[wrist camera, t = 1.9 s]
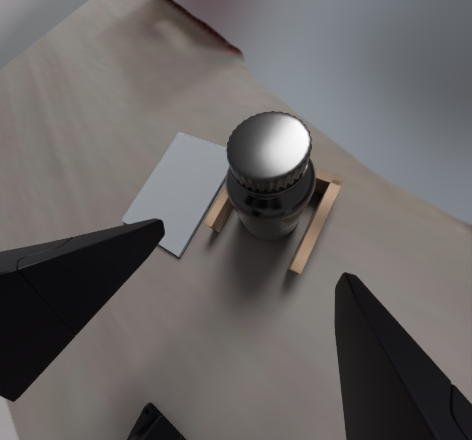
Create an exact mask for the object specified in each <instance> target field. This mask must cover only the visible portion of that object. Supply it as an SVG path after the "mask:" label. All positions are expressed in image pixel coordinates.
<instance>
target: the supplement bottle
mask: <svg viewBox="0 0 472 440" xmlns="http://www.w3.org/2000/svg"><path fill="white" fill-rule="evenodd" d="M311 141H312V138H311V137H310V131H309V130H308V129H307V127H306V125H305V124H303V123H302V121H301V120H299V119H297V118H296V117H295V116H292V115H290V114H289V113H283V112H274V111H272V112H264V113H261V114H256V115H255V116H251V117H249V118H248V119H247V120H244V121H243V122H242V123H241V124H239V125H238V126H237V128H236V129H235V130H233V132H232V135H231V136H230V137H229V141H228V143H227V149H226V152H227V160H228V163H229V167H228V170H227V173H226V180H225V186H226V192H227V195H228V198H229V200H230V202H231V204H232V205H233V207H234V209H235V210H236V212H237V214H238V215H239V217H240V219H241V220H242V222H243V224H244V225H245V227H246V228H247V229H248V230H249V232H251V233H252V234H253V235H255V236H257V237H259V238H262V239H266V240H274V239H279V238H282V237H284V236H286V235H288V234H289V233H290V232H291V231H292V230H293V229H294V228H295V227H296V225H297V223H298V222H299V220H300V218H301V216H302V214H303V212H304V210H305V208H306V206H307V204H308V203H309V201H310V199H311V197H312V194H313V192H314V189H315V184H316V172H315V168H314V165H313V162H312V160H311V159H310V152H311V149H312V145H311Z"/></svg>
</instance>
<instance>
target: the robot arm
mask: <svg viewBox="0 0 472 440" xmlns="http://www.w3.org/2000/svg"><path fill="white" fill-rule="evenodd" d="M164 235H165V228H164V223H163V221H162V220H161V219H157V218H153V219H149V220H144V221H140V222H136V223H131V224H127V225H123V226H118V227H114V228H110V229H105V230H101V231H97V232H92V233H88V234H84V235H79V236H75V237H70V238H66V239H62V240H57V241H53V242H48V243H43V244H38V245H33V246H28V247H23V248H18V249H12V250H7V251H2V252H0V396H2V397H4V398H6V399H8V400H10V401H12V402H14V401H16V400H17V399H18V398H19V397H20V396H21V395H22V394H23V393H24V392H25V391H26V390H27V388H28V387H29V386H30V385H31V384H32V383H33V382H34V381H35V380H36V379H37V378H38V376H39V375H40V374H41V373H42V372H43V371H44V370H45V369H46V368H47V367H48V366H49V365H50V363H51V362H52V361H53V360H54V359H55V358H56V357H57V356H58V355H59V354H60V353H61V352H62V350H63V349H64V348H65V347H66V346H67V345H68V344H69V343H70V342H71V341H72V340H73V338H74V337H75V335H77V334H78V333H79V332H80V331H81V330H82V328H83V327H84V326H85V325H86V324H87V323H88V322H89V321H90V320H91V319H92V318H93V317H94V315H95V314H96V313H97V312H98V311H99V310H100V309H101V308H102V307H103V306H104V305H105V304H106V302H107V301H108V300H109V299H110V298H111V297H112V296H113V295H114V294H115V293H116V292H117V290H118V289H119V288H120V287H121V286H122V285H123V284H124V283H125V282H126V281H127V280H128V279H129V277H130V276H131V275H132V274H133V273H134V272H135V271H136V270H137V269H138V268H139V267H140V266H141V264H142V263H143V262H144V261H145V260H146V259H147V258H148V257H149V255H150V254H151V253H152V251H153V250H154V249H155V248H156V246H157V245H158V244H159V242H160V241H161V240H162V238H163V237H164ZM335 336H336V346H337V355H338V364H339V374H340V383H341V393H342V402H343V411H344V421H345V430H346V439H347V440H472V404H471V403H470V402H469V401H468V400H467V398H466V397H465V396H464V395H463V394H462V393H461V392H460V391H459V390H458V388H457V387H456V386H455V385H453V384H451V381H450V380H449V378H448V377H447V376H446V375H445V374H444V373H443V372H442V371H441V370H440V368H439V367H438V366H437V365H436V364H435V363H434V362H433V361H432V359H431V358H430V357H429V356H428V355H427V354H426V353H425V352H424V351H423V349H422V348H421V347H420V346H419V345H418V344H417V343H416V342H415V340H414V339H413V338H412V337H411V336H410V335H409V334H408V333H407V332H406V330H405V329H404V328H403V327H402V326H401V325H400V324H399V323H398V321H397V320H396V319H395V318H394V317H393V316H392V315H391V314H390V313H389V311H388V310H387V309H386V308H385V307H384V306H383V305H382V304H381V302H380V301H379V300H378V299H377V298H376V297H375V296H374V295H373V294H372V292H371V291H370V290H369V289H368V288H367V287H366V286H365V285H364V284H363V282H362V281H361V280H360V279H359V278H358V277H357V276H356V275H354V274H350V273H347V272H344V273H343V274H342V276H341V277H340V279H339V281H338V283H337V285H336V288H335ZM148 409H149V412H148ZM127 440H186V439H185V438H184V437H183V436H182V435H181V434H180V433H179V432H178V431H177V429H176V428H175V427H174V426H173V425H172V424H171V423H170V422H169V421H168V420H167V419H166V418H165V417H164V416H163V415H162V414H161V412H160V411H159V410H158V409H157V408H156V407H155V406H154V405H153V404H152V403H148V404H147V405H146V406H145V407H144V409H143V410H142V412H141V414H140V416H139V418H138V420H137V422H136V424H135V425H134V427H133V429H132V431H131V433H130V435H129V437H128V438H127Z"/></svg>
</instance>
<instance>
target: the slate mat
mask: <svg viewBox="0 0 472 440" xmlns="http://www.w3.org/2000/svg"><path fill="white" fill-rule="evenodd" d="M226 149H227V148H226V147H223V146H220V145H217V144H214V143H211V142H208V141H205V140H202V139H199V138H196V137H193V136H190V135H187V134H184V133H181V132H179V133H178V134H177V136H176V137H175V139H174V141H173V142H172V144H171V145H170V147H169V148H168V150H167V151H166V153H165V154H164V156H163V157H162V159H161V160H160V162H159V163H158V165H157V166H156V168H155V169H154V171H153V173H152V174H151V176H150V177H149V179H148V180H147V182H146V183H145V185H144V186H143V188H142V189H141V191H140V192H139V194H138V195H137V197H136V198H135V200H134V201H133V203H132V205H131V206H130V208H129V209H128V211H127V212H126V214H125V215H124V217H123V218H122V221H123V222H125V223H126V224H131V223H136V222H140V221H144V220H149V219H153V218H157V219H161V220H162V221H163V223H164V228H165V235H164V237H163V238H162V240H161V241H160V242H159V245H161V246H162V247H164V248H166V249H167V250H169V251H170V252H172V253H173V254H175V255H176V256H178V257H181V256H182V254H183V252H184V251H185V249H186V247H187V245H188V244H189V242H190V240H191V238H192V237H193V235H194V233H195V231H196V230H197V228H198V226H199V225H200V223H201V221H202V219H203V218H204V216H205V214H206V212H207V211H208V209H209V207H210V205H211V204H212V202H213V200H214V199H215V197H216V195H217V193H218V192H219V190H220V188H221V186H222V185H223V183H224V181H225V179H226V173H227V170H228V167H229V163H228V160H227V152H226Z"/></svg>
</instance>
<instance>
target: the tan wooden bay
mask: <svg viewBox="0 0 472 440" xmlns="http://www.w3.org/2000/svg"><path fill="white" fill-rule="evenodd" d="M315 172H316V184H315V189H314V192H316V193H319V194H322V197H321V199H320V201H319V203H318V205H317V208H316V210H315V212H314V214H313V216H312V218H311V220H310V223H309V225H308V227H307V229H306V231H305V233H304V235H303V237H302V240H301V242H300V244H299V246H298V248H297V250H296V252H295V254H294V257H293V259H292V261H291V263H290V265H289V267H288V269H289V270H291V271H293V272H295V273H297V274H301V273H302V270H303V268H304V266H305V264H306V262H307V259H308V257H309V255H310V253H311V251H312V248H313V246H314V244H315V242H316V240H317V237H318V235H319V233H320V231H321V229H322V226H323V224H324V222H325V220H326V218H327V215H328V213H329V211H330V209H331V207H332V204H333V202H334V200H335V198H336V196H337V193H338V191H339V189H340V187H341V185H342V182H343V180H344V178H345V177H341V176H338V175H335V174H332V173H329V172H326V171H323V170H319V169H316V168H315ZM232 209H233V205H232V204H231V202H230V200H229V198H228V195H227V192H226V186H225V187H224V189H223V191H222V193H221V194H220V196H219V198H218V199H217V201H216V203H215V205H214V206H213V208H212V210H211V212H210V213H209V215H208V217H207V219H206V220H205V222H204V224H206V225H207V226H209V227H210V228H212V229H213V230H215V231H217V232H219V233H220V231H221V229H222V227H223V225H224V224H225V222H226V220H227V218H228V216H229V215H230V213H231V211H232Z"/></svg>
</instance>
